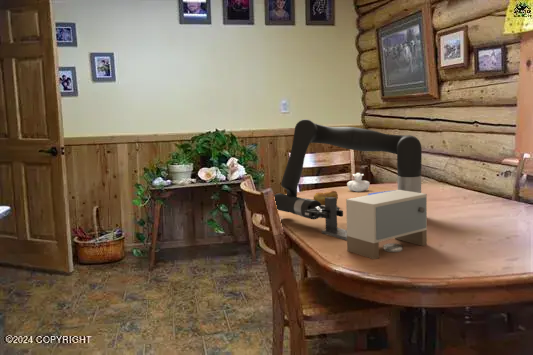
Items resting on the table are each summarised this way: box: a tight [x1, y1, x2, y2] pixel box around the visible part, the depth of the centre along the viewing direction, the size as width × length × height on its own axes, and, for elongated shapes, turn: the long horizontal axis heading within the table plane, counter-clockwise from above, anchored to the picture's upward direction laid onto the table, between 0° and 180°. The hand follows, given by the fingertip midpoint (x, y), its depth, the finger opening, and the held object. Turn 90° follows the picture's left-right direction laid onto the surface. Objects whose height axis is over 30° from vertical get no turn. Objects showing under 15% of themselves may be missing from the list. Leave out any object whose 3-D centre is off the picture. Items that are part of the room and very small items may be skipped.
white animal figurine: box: [346, 172, 371, 193], centre depth 271 cm, size 12×8×11 cm
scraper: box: [321, 197, 347, 241], centre depth 181 cm, size 20×7×13 cm, turn 33°
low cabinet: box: [345, 189, 428, 260], centre depth 164 cm, size 14×24×17 cm, turn 123°
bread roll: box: [312, 190, 339, 205], centre depth 236 cm, size 13×10×8 cm
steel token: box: [382, 242, 404, 253], centre depth 164 cm, size 6×6×2 cm
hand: (336, 214), depth 186 cm, fingers open, 5 cm apart
